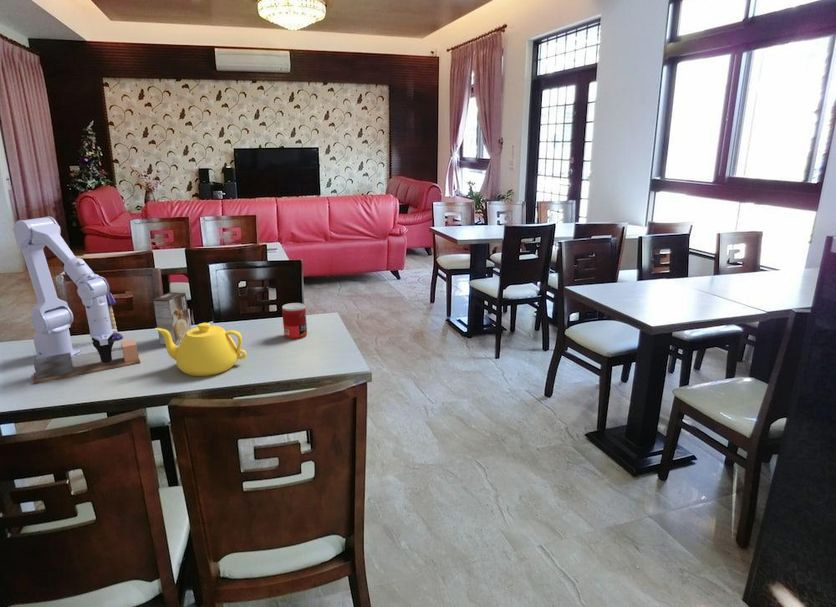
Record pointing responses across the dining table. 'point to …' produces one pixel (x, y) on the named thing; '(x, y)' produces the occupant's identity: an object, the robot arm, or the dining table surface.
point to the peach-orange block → (129, 350)
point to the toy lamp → (112, 315)
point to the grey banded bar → (95, 357)
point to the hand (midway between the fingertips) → (106, 360)
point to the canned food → (294, 320)
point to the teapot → (205, 350)
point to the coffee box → (172, 315)
